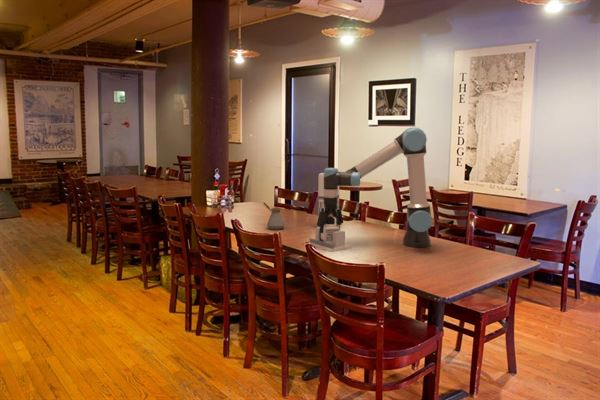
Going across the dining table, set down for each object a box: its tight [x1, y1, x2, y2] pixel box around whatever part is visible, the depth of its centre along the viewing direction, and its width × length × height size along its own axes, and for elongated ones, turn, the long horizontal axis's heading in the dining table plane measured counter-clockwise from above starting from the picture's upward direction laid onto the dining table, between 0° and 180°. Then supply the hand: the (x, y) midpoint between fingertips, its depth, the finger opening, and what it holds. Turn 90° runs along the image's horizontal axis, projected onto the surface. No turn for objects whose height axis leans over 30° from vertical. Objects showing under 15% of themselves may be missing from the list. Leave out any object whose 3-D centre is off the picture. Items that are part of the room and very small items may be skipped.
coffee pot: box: [262, 202, 286, 231], centre depth 336 cm, size 21×12×15 cm, turn 34°
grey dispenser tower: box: [317, 172, 340, 227], centre depth 333 cm, size 11×11×35 cm
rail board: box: [308, 226, 352, 253], centre depth 285 cm, size 19×14×10 cm
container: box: [322, 216, 340, 242], centre depth 284 cm, size 8×8×13 cm
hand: (330, 237), depth 285 cm, fingers closed on container, 9 cm apart
